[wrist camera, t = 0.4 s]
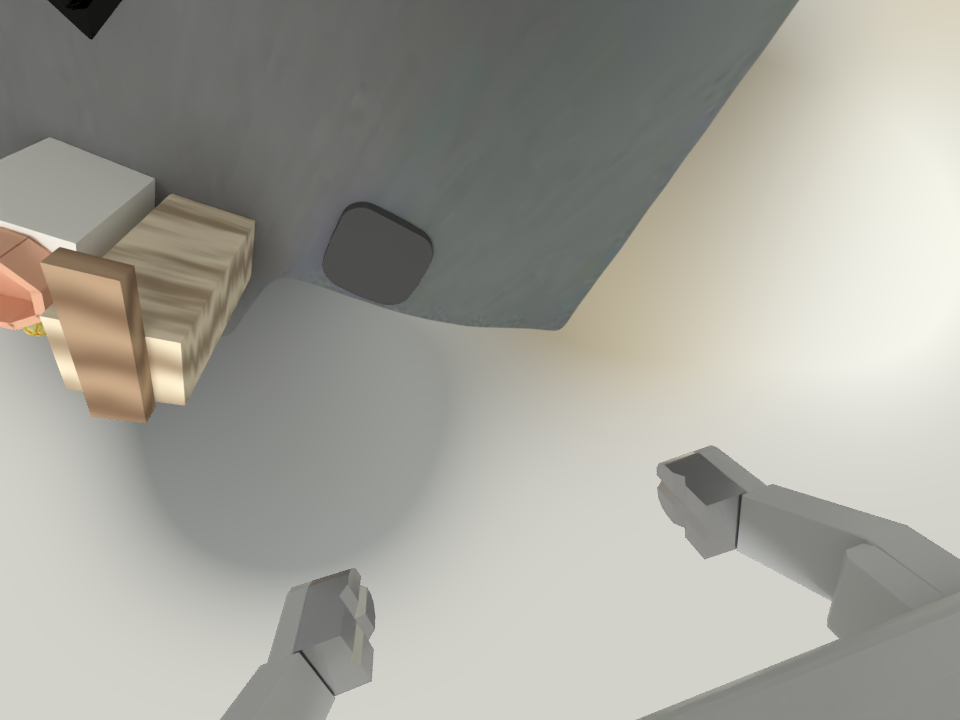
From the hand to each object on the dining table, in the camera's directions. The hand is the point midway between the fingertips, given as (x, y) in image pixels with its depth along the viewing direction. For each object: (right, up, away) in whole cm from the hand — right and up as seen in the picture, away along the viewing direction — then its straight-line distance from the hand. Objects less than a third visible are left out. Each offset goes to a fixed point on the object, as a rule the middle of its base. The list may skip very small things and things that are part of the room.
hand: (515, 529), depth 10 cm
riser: (-50, +26, +39) cm, 69 cm away
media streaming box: (-17, +22, +51) cm, 58 cm away
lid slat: (-35, +6, +25) cm, 43 cm away
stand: (-40, +22, +45) cm, 64 cm away
